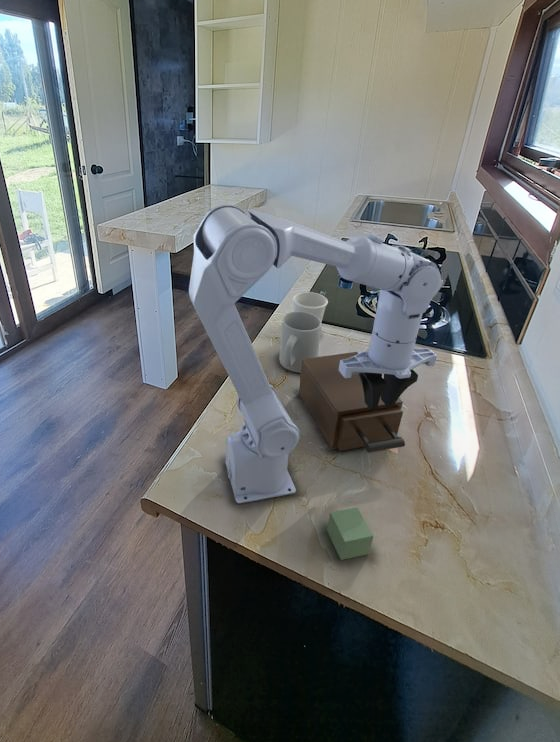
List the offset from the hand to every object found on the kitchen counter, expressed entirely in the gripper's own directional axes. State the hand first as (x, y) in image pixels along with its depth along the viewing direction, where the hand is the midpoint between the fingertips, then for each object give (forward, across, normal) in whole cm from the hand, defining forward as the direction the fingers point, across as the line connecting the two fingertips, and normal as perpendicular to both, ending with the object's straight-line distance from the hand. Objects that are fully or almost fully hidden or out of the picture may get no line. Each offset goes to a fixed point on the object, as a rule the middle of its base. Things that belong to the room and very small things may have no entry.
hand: (378, 404), depth 61 cm
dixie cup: (+11, +5, +37) cm, 39 cm away
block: (+10, -11, -13) cm, 20 cm away
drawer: (+10, 0, +5) cm, 11 cm away
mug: (+11, -3, +25) cm, 27 cm away
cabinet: (+10, 0, +9) cm, 14 cm away
